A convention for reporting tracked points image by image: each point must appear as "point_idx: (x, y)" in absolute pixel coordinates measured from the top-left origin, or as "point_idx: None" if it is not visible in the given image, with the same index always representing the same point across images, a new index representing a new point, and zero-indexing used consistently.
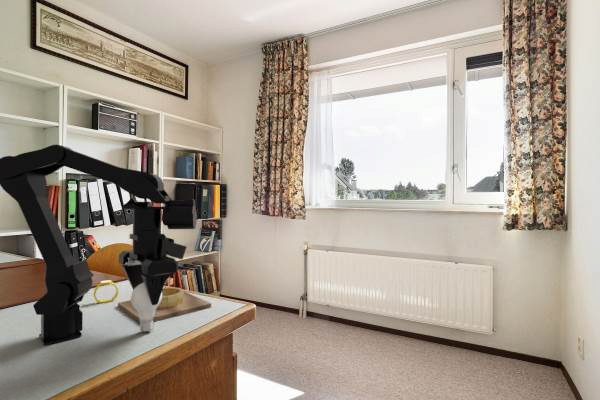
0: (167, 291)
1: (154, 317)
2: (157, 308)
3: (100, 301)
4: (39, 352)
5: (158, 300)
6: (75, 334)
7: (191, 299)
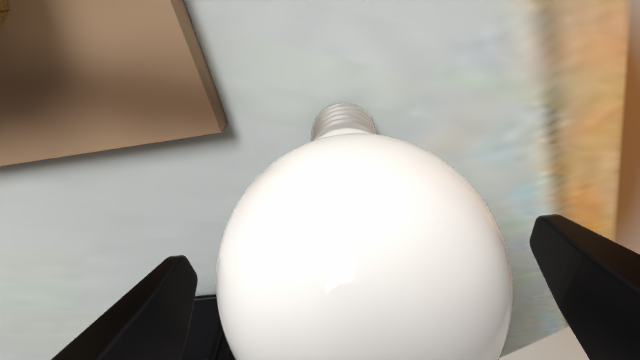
0: None
1: (195, 66)
2: (6, 6)
3: None
4: None
5: (592, 233)
6: None
7: None
